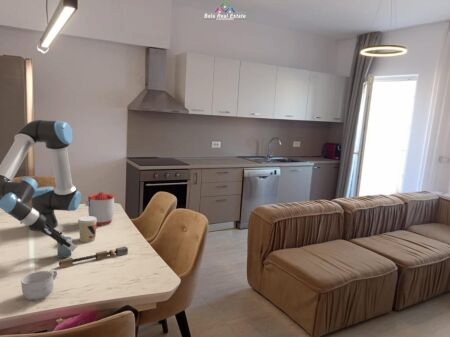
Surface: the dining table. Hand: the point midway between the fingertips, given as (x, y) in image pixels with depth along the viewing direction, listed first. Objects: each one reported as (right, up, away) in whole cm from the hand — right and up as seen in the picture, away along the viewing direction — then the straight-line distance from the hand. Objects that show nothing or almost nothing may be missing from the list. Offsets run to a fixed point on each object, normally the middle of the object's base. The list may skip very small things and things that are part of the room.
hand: (72, 246), depth 168 cm
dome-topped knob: (-3, -4, -2) cm, 5 cm away
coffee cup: (-1, -1, +21) cm, 21 cm away
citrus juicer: (-4, +4, +48) cm, 49 cm away
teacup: (+4, -11, -35) cm, 37 cm away
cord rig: (+12, -6, -4) cm, 13 cm away
